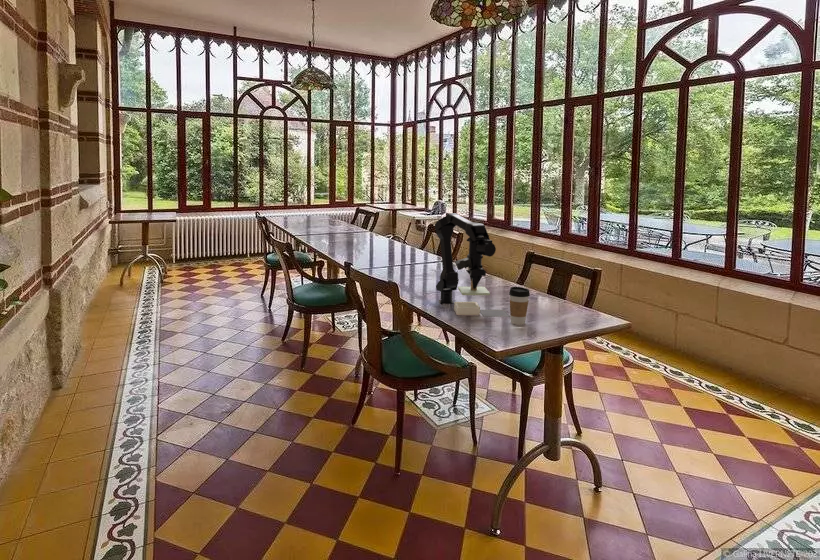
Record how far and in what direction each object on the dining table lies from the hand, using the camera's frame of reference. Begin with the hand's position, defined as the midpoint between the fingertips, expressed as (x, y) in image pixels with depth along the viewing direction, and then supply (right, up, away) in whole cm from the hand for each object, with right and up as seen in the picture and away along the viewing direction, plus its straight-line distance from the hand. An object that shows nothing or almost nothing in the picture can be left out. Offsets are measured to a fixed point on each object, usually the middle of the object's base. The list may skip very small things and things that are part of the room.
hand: (473, 287), depth 235 cm
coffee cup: (+17, -15, -12) cm, 26 cm away
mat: (+9, -12, +2) cm, 15 cm away
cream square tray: (-3, -11, +2) cm, 12 cm away
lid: (0, -2, 0) cm, 2 cm away
